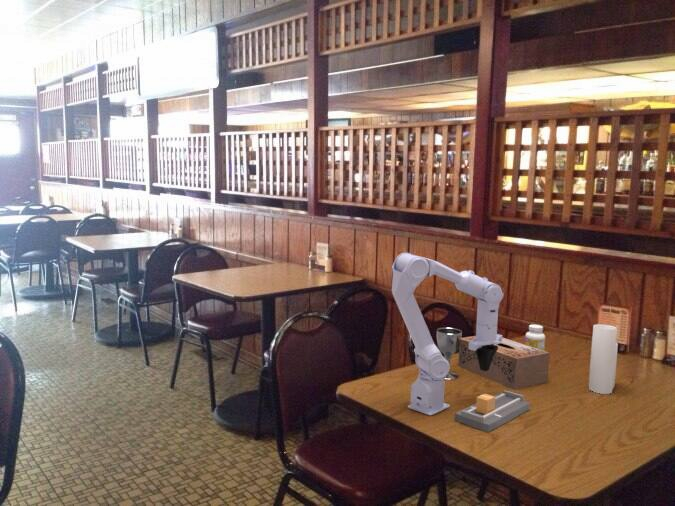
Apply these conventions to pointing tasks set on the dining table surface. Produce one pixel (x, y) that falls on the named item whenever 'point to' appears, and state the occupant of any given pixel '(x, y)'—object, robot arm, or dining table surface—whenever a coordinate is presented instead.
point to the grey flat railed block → (494, 412)
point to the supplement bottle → (535, 337)
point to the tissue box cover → (509, 363)
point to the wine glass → (449, 344)
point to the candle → (603, 359)
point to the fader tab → (485, 403)
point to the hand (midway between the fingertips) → (484, 370)
